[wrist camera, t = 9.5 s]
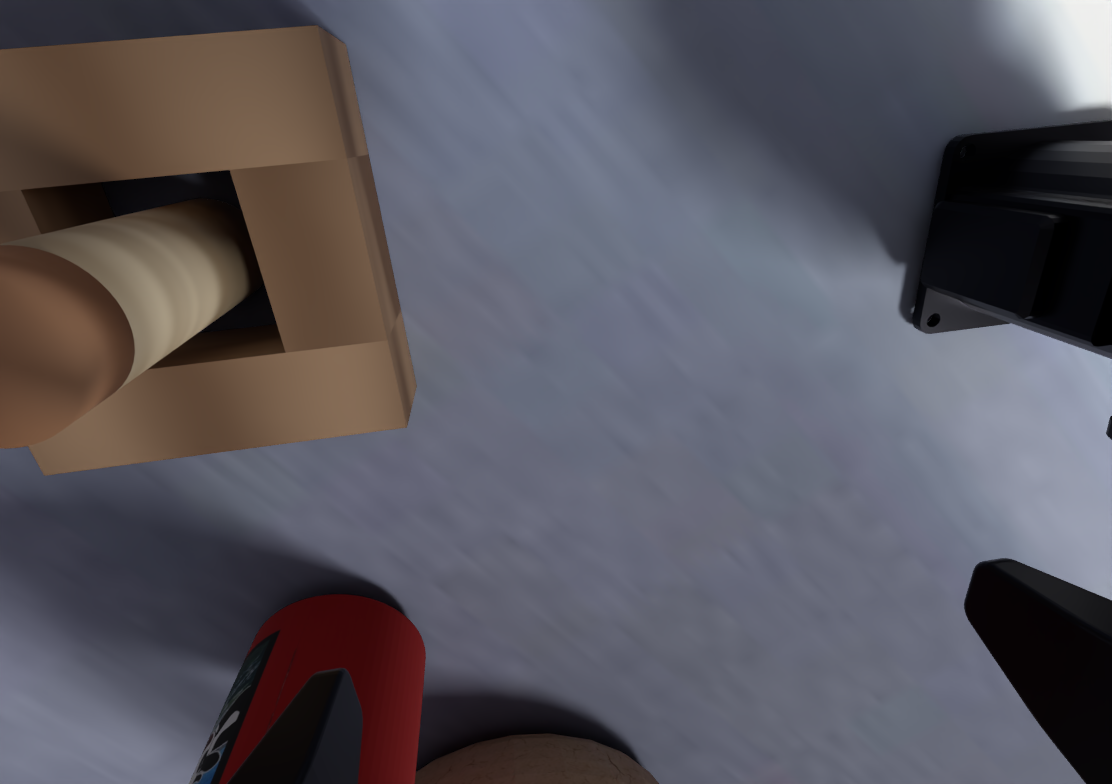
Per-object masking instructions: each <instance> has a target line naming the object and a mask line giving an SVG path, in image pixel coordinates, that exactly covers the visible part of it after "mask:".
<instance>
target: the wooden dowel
mask: <svg viewBox="0 0 1112 784" xmlns="http://www.w3.org/2000/svg"><path fill="white" fill-rule="evenodd" d="M263 283H264V280H263V277H262V274H261V271H260V267H259V264H258V261H257V258H256V254H255V251H254V248H253V245H252V241H251V238H250V235H249V232H248V228H247V225H246V222H245V219H244V215H243V212H242V211H241V210H240V209H238V208H236V207H235V206H233V205H230V204H228V203H226V202H223V201H220V200H215V199H208V198H197V199H191V200H187V201H183V202H178V203H174V204H170V205H166V206H161V207H157V208H153V209H148V210H144V211H140V212H135V213H131V214H127V215H123V216H118V217H114V218H110V219H105V220H101V221H97V222H93V223H88V224H84V225H80V226H75V227H71V228H67V229H62V230H58V231H54V232H50V233H45V234H41V235H37V236H32V237H28V238H24V239H19V240H15V241H11V242H7V243H2V244H0V448H5V449H6V448H19V447H24V446H30V445H33V444H37V443H40V442H43V441H45V440H47V439H49V438H51V437H53V436H55V435H56V434H58V433H59V432H60V431H62V430H63V429H65V428H66V427H68V426H69V425H70V424H72V423H73V422H74V421H76V420H77V419H79V418H80V417H81V416H83V415H84V414H86V413H87V412H88V411H90V410H91V409H93V408H94V407H95V406H97V405H98V404H100V403H101V402H102V401H104V400H105V399H107V398H108V397H109V396H111V395H112V394H113V393H115V392H116V391H118V390H119V389H120V388H122V387H123V386H125V385H126V384H127V383H129V382H130V381H132V380H133V379H134V378H136V377H137V376H139V375H140V374H141V373H143V372H144V371H146V370H147V369H148V368H150V367H151V366H152V365H154V364H155V363H157V362H158V361H159V360H161V359H162V358H164V357H165V356H166V355H168V354H169V353H171V352H172V351H173V350H175V349H176V348H178V347H179V346H180V345H182V344H183V343H185V342H186V341H187V340H189V339H190V338H191V337H193V336H194V335H196V334H197V333H198V332H200V331H201V330H203V329H204V328H205V327H207V326H208V325H210V324H211V323H212V322H214V321H215V320H217V319H218V318H219V317H221V316H222V315H224V314H225V313H226V312H228V311H229V310H230V309H232V308H233V307H235V306H236V305H237V304H239V303H240V302H242V301H243V300H244V299H246V298H247V297H249V296H250V295H251V294H253V293H254V292H256V291H257V290H258V289H259V288H260V287H261V285H262V284H263Z"/></svg>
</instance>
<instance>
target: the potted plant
mask: <svg viewBox="0 0 1112 784" xmlns="http://www.w3.org/2000/svg"><path fill="white" fill-rule="evenodd" d="M415 784H659V783H658V782H657V781H656V779H655V778H654V777H653V776H652V775H651V774H650V772H648V771H647V770H646V769H644V768H643V767H642V766H640V765H639V764H638V763H636V762H635V761H634V760H632V759H631V758H630V757H629V756H627V755H626V754H624V753H622V752H621V751H618V750H616V749H613V748H610V747H608V746H605V745H603V744H600V743H597V742H595V741H592V740H589V739H582V738H576V737H569V736H562V735H556V734H526V735H511V736H506V737H501V738H497V739H492V740H487V741H483V742H478V743H475V744H472V745H470V746H467V747H465V748H462V749H460V750H457V751H455V752H452V753H450V754H448V755H445V756H443V757H440V758H438V759H435V760H433V761H432V762H430V763H429V764H427V765H426V766H424V767H423V768H421V769H420V770H418V771H417V772H416V774H415Z"/></svg>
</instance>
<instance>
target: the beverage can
mask: <svg viewBox="0 0 1112 784" xmlns="http://www.w3.org/2000/svg"><path fill="white" fill-rule="evenodd" d="M425 659H426V653H425V647H424V643H423V640H422V637H421V635H420V633H419V631H418V630H417V628H416V627H415V626H414V624H413V623H412V622H411V621H410V620H409V619H408V618H407V617H406V616H404V615H403V614H402V613H400V612H399V611H398V610H396V609H394V608H393V607H391V606H389V605H387V604H385V603H382V602H380V601H377V600H374V599H371V598H367V597H363V596H357V595H348V594H330V595H321V596H315V597H311V598H307V599H303V600H300V601H298V602H295V603H293V604H290V605H288V606H286V607H285V608H283V609H281V610H279V611H278V612H277V613H275V614H274V615H273V616H271V617H270V618H269V619H268V620H267V621H266V622H265V623H264V625H263V626H262V627H261V628H260V630H259V631H258V633H257V635H256V637H255V639H254V641H253V643H252V645H251V647H250V650H249V652H248V654H247V656H246V658H245V660H244V663H243V665H242V667H241V669H240V671H239V673H238V676H237V678H236V680H235V682H234V684H233V687H232V689H231V691H230V693H229V695H228V697H227V700H226V702H225V704H224V706H223V709H222V711H221V713H220V715H219V718H218V720H217V722H216V724H215V726H214V729H213V731H212V733H211V735H210V738H209V740H208V742H207V744H206V747H205V749H204V751H203V753H202V755H201V758H200V760H199V762H198V764H197V767H196V769H195V771H194V773H193V776H192V778H191V780H190V783H189V784H227V782H228V781H229V780H230V779H231V777H232V776H233V775H234V773H235V772H236V771H237V770H238V768H239V767H240V766H241V765H242V763H243V762H244V761H245V759H246V758H247V757H248V756H249V754H250V753H251V752H252V751H253V749H254V748H255V747H256V745H257V744H258V743H259V742H260V740H261V739H262V738H263V737H264V735H265V734H266V733H267V731H268V730H269V729H270V728H271V726H272V725H273V724H274V722H275V721H276V720H277V719H278V717H279V716H280V715H281V714H282V712H283V711H284V710H285V708H286V707H287V706H288V705H289V703H290V702H291V701H292V700H293V698H294V697H295V696H296V694H297V693H298V692H299V691H300V689H301V688H302V687H303V686H304V684H305V683H306V682H307V680H308V679H309V678H310V677H311V676H312V675H313V674H315V673H316V672H319V671H325V670H331V669H337V668H345V669H346V670H347V671H348V672H349V674H350V676H351V679H352V682H353V685H354V688H355V691H356V694H357V697H358V699H359V702H360V705H361V709H362V716H363V728H362V740H361V752H360V764H359V776H358V784H415V774H416V764H417V753H418V742H419V731H420V720H421V708H422V696H423V684H424V671H425Z"/></svg>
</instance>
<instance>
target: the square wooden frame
mask: <svg viewBox="0 0 1112 784" xmlns="http://www.w3.org/2000/svg"><path fill="white" fill-rule="evenodd" d="M222 170H230V173H231V176H232V179H233V183H234V186H235V189H236V192H237V196H238V199H239V202H240V205H241V209H242V212H243V215H244V219H245V222H246V225H247V228H248V232H249V235H250V238H251V241H252V245H253V248H254V251H255V254H256V258H257V261H258V264H259V267H260V271H261V274H262V277H263V280H264V284H265V287H266V290H267V293H268V297H269V300H270V303H271V307H272V310H273V313H274V316H275V320H276V323H277V324H273V325H264V326H256V327H247V328H239V329H230V330H222V331H213V332H205V333H197V334H196V335H194V336H193V337H191V338H190V339H189V340H187V341H186V342H185V343H183V344H182V345H180V346H179V347H178V348H176V349H175V350H173V351H172V352H171V353H169V354H168V355H166V356H165V357H164V358H162V359H161V360H159V361H158V362H157V363H155V364H154V365H152V366H151V367H150V368H148V369H147V370H146V371H144V372H143V373H141V374H140V375H139V376H137V377H136V378H134V379H133V380H132V381H130V382H129V383H127V384H126V385H125V386H123V387H122V388H120V389H119V390H118V391H116V392H115V393H113V394H112V395H111V396H109V397H108V398H107V399H105V400H104V401H102V402H101V403H100V404H98V405H97V406H95V407H94V408H93V409H91V410H90V411H88V412H87V413H86V414H84V415H83V416H81V417H80V418H79V419H77V420H76V421H74V422H73V423H72V424H70V425H69V426H68V427H66V428H65V429H63V430H62V431H60V432H59V433H58V434H56V435H55V436H53V437H51V438H49V439H47V440H45V441H43V442H40V443H37V444H33V445H30V446H28V447H29V449H30V451H31V453H32V454H33V456H34V458H35V460H36V462H37V463H38V465H39V467H40V469H41V471H42V472H43V474H44V476H46V475H53V474H61V473H68V472H76V471H83V470H91V469H98V468H106V467H113V466H121V465H128V464H136V463H143V462H151V461H158V460H166V459H173V458H181V457H188V456H196V455H203V454H211V453H218V452H226V451H233V450H241V449H248V448H256V447H263V446H271V445H278V444H286V443H293V442H301V441H308V440H316V439H323V438H331V437H338V436H346V435H353V434H361V433H368V432H376V431H383V430H391V429H398V428H406V427H407V425H408V421H409V416H410V412H411V408H412V404H413V399H414V395H415V391H416V387H417V385H416V381H415V376H414V371H413V366H412V361H411V356H410V352H409V347H408V342H407V337H406V332H405V328H404V323H403V318H402V313H401V308H400V303H399V299H398V294H397V289H396V284H395V279H394V275H393V270H392V265H391V260H390V255H389V250H388V246H387V241H386V236H385V231H384V226H383V222H382V217H381V212H380V207H379V202H378V197H377V193H376V188H375V183H374V178H373V173H372V169H371V164H370V159H369V154H368V149H367V145H366V140H365V135H364V130H363V125H362V120H361V116H360V111H359V106H358V101H357V96H356V92H355V87H354V82H353V77H352V72H351V67H350V63H349V58H348V53H347V48H346V44H344V43H343V42H341V41H340V40H338V39H337V38H335V37H334V36H332V35H331V34H329V33H328V32H326V31H325V30H323V29H322V28H321V27H319V26H318V25H313V26H300V27H287V28H274V29H261V30H248V31H235V32H222V33H209V34H196V35H183V36H170V37H157V38H144V39H131V40H118V41H105V42H92V43H79V44H66V45H53V46H40V47H27V48H14V49H1V50H0V244H2V243H7V242H11V241H15V240H19V239H24V238H28V237H32V236H37V235H41V234H45V233H50V232H54V231H58V230H62V229H67V228H71V227H75V226H80V225H84V224H88V223H93V222H97V221H101V220H105V219H110V218H114V215H113V212H112V210H111V207H110V205H109V202H108V200H107V197H106V195H105V192H104V190H103V187H102V185H101V182H107V181H117V180H128V179H138V178H149V177H159V176H170V175H180V174H191V173H201V172H212V171H222Z"/></svg>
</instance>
